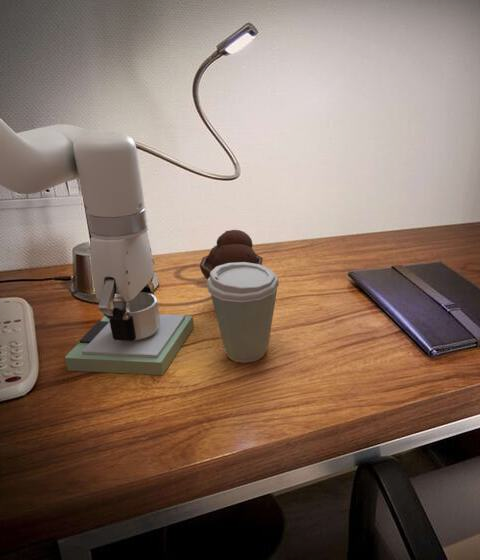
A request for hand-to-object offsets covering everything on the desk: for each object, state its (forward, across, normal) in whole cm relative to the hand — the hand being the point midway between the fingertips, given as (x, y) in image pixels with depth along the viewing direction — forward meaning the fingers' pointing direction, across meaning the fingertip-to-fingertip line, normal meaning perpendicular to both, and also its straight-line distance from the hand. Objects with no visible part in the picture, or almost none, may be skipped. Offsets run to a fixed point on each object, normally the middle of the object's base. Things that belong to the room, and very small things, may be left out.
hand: (136, 325), depth 84 cm
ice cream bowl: (+4, -15, +11) cm, 19 cm away
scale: (+4, 0, -1) cm, 4 cm away
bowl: (+1, 0, 0) cm, 1 cm away
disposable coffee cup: (+4, 0, +17) cm, 18 cm away
